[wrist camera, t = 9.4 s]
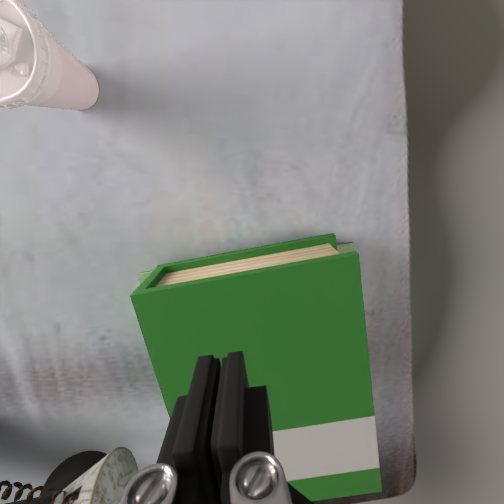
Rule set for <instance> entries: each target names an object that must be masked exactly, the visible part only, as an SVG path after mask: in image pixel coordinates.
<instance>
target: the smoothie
mask: <svg viewBox="0 0 504 504" xmlns="http://www.w3.org/2000/svg"><path fill="white" fill-rule="evenodd" d="M98 94H99V87H98V82H97V80H96V78H95V76H94V74H93V73H92V72H91V71H90V70H89V69H88V68H87V67H86V66H85V65H84V64H83V63H82V62H80V61H79V60H78V59H77V58H76V57H75V56H74V55H73V54H72V53H71V52H70V51H68V50H67V49H66V48H65V47H64V46H63V45H62V44H61V43H60V42H59V41H58V40H57V39H55V38H54V37H53V36H52V35H51V34H50V33H49V32H48V31H47V30H46V29H45V28H44V27H43V26H42V25H41V24H40V22H39V20H38V18H37V17H36V15H35V14H34V13H33V12H32V11H31V10H30V8H29V7H28V6H27V5H26V4H25V3H24V2H23V1H21V0H0V108H8V109H13V108H17V107H22V106H25V105H26V106H39V107H50V108H60V109H71V110H86V109H89V108H90V107H92V106H93V105H94V104H95V102H96V101H97V98H98Z"/></svg>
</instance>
